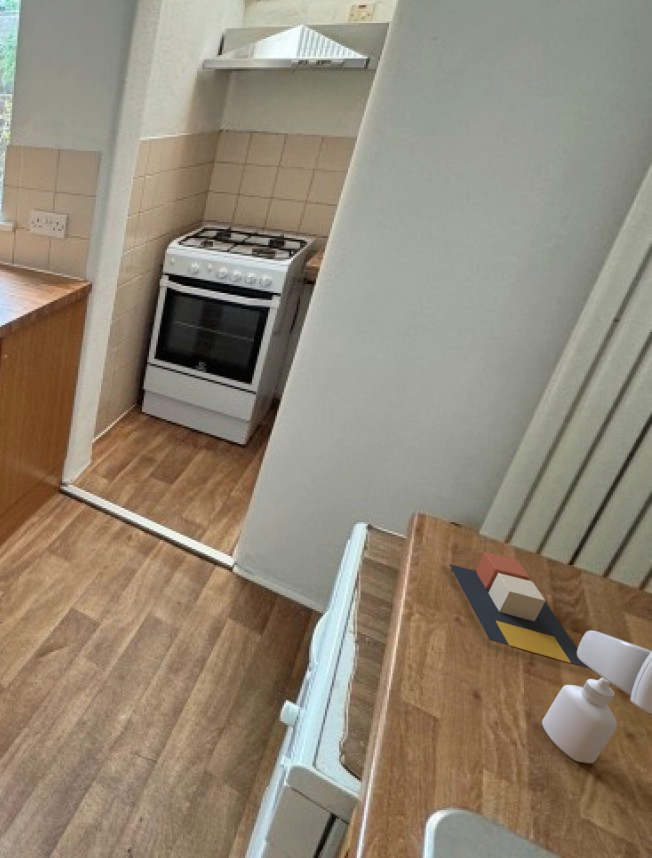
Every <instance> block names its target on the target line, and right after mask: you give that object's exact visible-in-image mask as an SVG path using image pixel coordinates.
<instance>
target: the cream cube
mask: <svg viewBox="0 0 652 858" xmlns="http://www.w3.org/2000/svg"><path fill="white" fill-rule="evenodd" d="M489 595H490V597H491V598H492V600H493V602H494V603H495V605H496V607H497V609H498V610H499V612H502V613H505V614H509V615H513V616H516V617H520V618H524V619H527V620H531V621H535V620H536V618H537V616H538V614H539V612H540V610H541V609H542V607H543V605H544V603H545V602H546V600H545V598H544V596H543V595H542V593H541V592H540V591H539V589H538V587H537V586H536V584H535V583H534V582H533V581H531V580H524V579H520V578H516V577H512V576H508V575H504V574H500V573H498V574H497V576H496V579H495V581H494V583H493V585H492V587H491V589H490V591H489Z"/></svg>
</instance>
